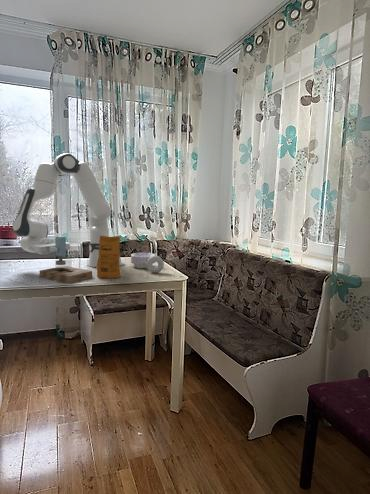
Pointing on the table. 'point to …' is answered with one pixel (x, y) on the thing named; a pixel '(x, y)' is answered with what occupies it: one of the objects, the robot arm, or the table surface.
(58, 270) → the keyhole board
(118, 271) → the coffee package
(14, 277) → the table surface
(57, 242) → the keyhole peg
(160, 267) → the donut
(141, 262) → the paper bowls
